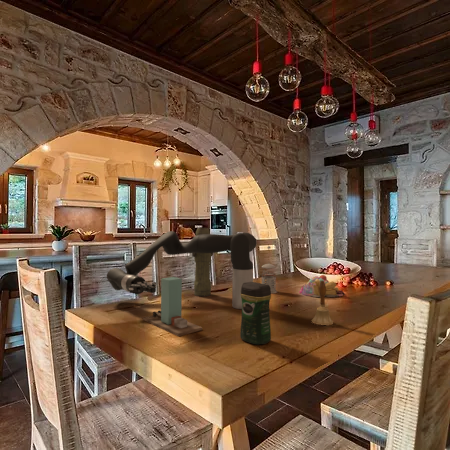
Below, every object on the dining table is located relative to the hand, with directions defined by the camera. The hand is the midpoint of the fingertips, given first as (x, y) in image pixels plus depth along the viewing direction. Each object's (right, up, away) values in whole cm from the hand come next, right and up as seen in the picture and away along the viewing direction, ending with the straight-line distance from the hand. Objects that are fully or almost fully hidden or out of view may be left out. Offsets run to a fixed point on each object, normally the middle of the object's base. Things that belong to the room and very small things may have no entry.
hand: (153, 290), depth 128 cm
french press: (+52, -11, +50) cm, 72 cm away
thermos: (+16, -11, +41) cm, 46 cm away
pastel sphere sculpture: (+80, -12, +48) cm, 94 cm away
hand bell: (+65, -12, -5) cm, 66 cm away
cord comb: (+8, -11, -9) cm, 16 cm away
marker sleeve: (+8, -10, -9) cm, 16 cm away
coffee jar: (+38, -11, -24) cm, 46 cm away
